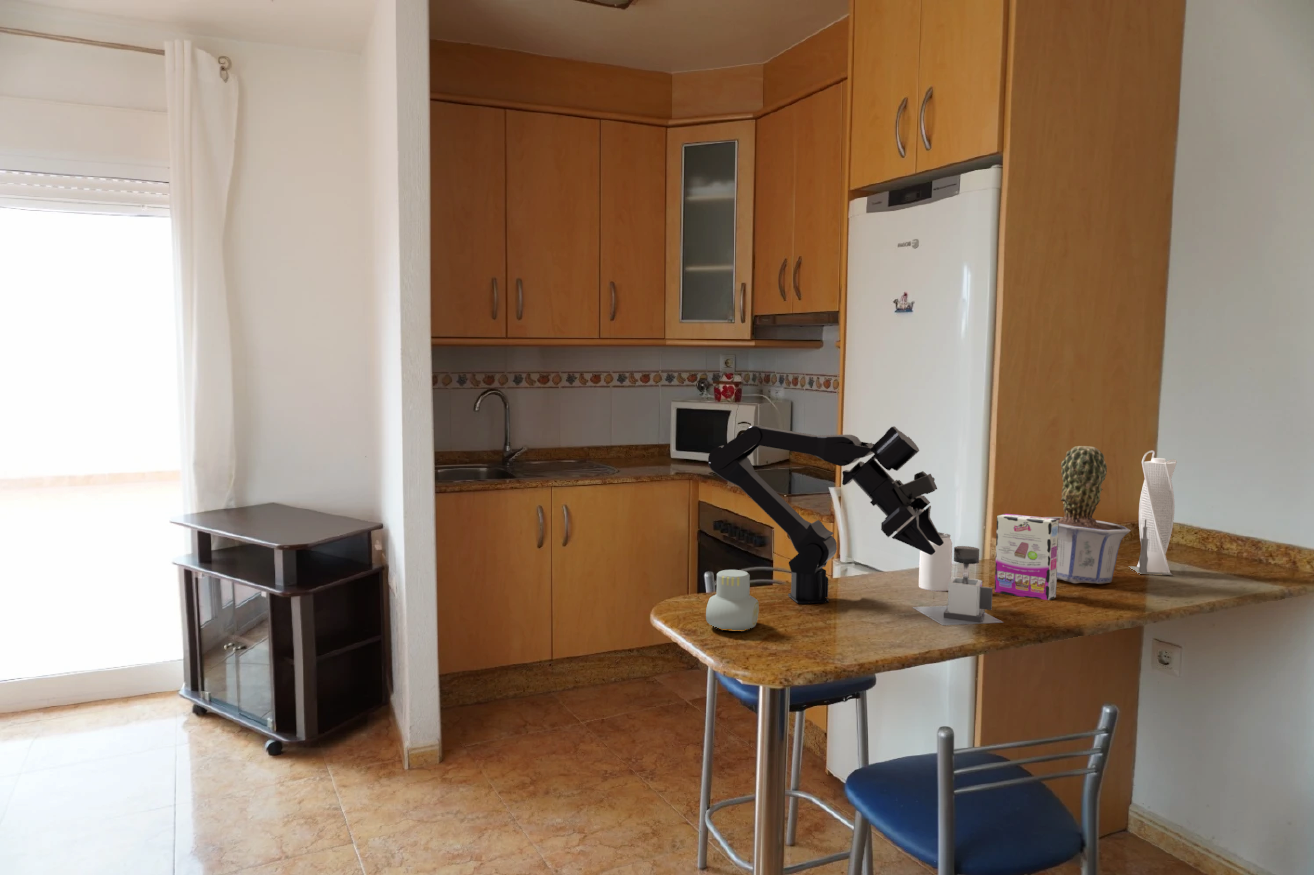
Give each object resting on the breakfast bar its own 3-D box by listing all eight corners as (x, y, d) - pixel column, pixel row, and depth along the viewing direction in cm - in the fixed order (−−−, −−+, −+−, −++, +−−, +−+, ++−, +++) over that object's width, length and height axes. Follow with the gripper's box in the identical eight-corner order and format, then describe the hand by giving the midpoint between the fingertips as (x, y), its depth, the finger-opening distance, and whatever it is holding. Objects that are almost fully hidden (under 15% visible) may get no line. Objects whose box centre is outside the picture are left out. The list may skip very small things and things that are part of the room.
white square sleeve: (943, 617, 162) (944, 583, 162) (949, 609, 168) (950, 575, 168) (989, 623, 159) (990, 588, 158) (993, 614, 165) (994, 580, 164)
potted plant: (1132, 593, 185) (1140, 450, 182) (1040, 585, 190) (1045, 447, 188) (1118, 574, 201) (1124, 443, 199) (1033, 568, 207) (1038, 441, 205)
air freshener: (750, 638, 152) (751, 581, 151) (703, 634, 154) (703, 578, 153) (760, 621, 162) (761, 568, 162) (716, 617, 165) (716, 564, 164)
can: (952, 595, 182) (954, 538, 181) (919, 593, 183) (921, 536, 182) (948, 587, 188) (950, 532, 187) (917, 586, 189) (918, 531, 188)
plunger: (951, 590, 163) (952, 549, 162) (954, 585, 166) (956, 545, 166) (976, 593, 161) (977, 551, 160) (979, 588, 164) (980, 547, 164)
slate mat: (942, 629, 158) (942, 625, 158) (911, 611, 170) (912, 607, 170) (1003, 626, 160) (1003, 622, 160) (969, 608, 172) (969, 604, 172)
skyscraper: (1126, 566, 209) (1132, 449, 207) (1162, 568, 208) (1168, 450, 206) (1140, 574, 201) (1146, 453, 199) (1178, 576, 200) (1185, 453, 198)
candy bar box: (1056, 597, 181) (1060, 518, 179) (1048, 602, 177) (1051, 521, 176) (1002, 588, 188) (1005, 512, 187) (993, 592, 184) (996, 514, 183)
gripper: (900, 463, 158) (963, 529, 154) (920, 454, 175) (977, 513, 171) (856, 503, 162) (916, 569, 158) (879, 491, 179) (934, 550, 175)
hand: (937, 548), depth 165 cm, fingers open, 9 cm apart
